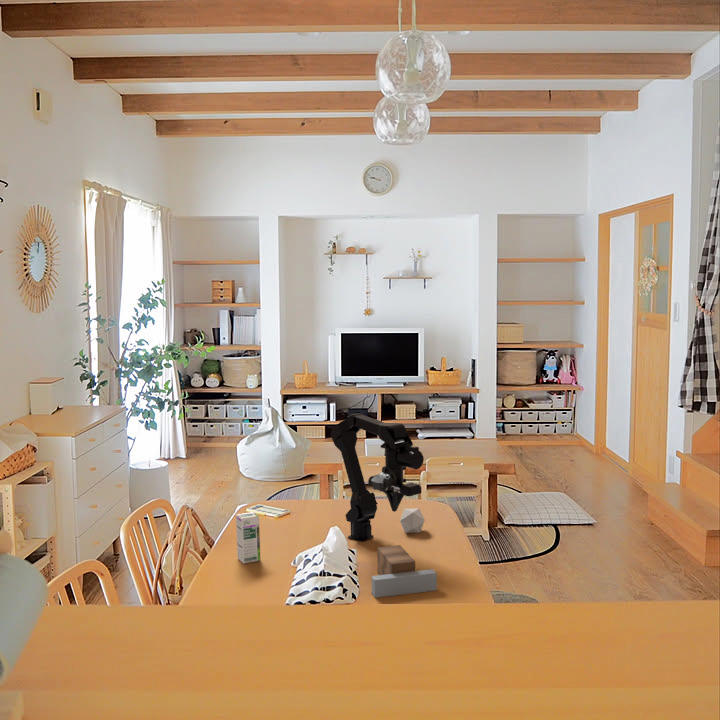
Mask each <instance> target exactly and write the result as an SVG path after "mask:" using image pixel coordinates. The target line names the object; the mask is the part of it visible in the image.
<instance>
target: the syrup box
mask: <svg viewBox="0 0 720 720" xmlns="http://www.w3.org/2000/svg"><path fill="white" fill-rule="evenodd" d="M235 526H236V529H235V530H236V542H237V543H236V546H237V548H236V550H237V551H236V552H237V554H236V555H237V559H238V560H239V561H240V562H241V564H248V563H254V562H260V561H261V540H260V539H261V538H260V536H261V535H260V533H261V532H260V516H259V515H258V514H257V512H255V511H250V512H245V513H237V514H235Z"/></svg>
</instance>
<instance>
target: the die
mask: <svg viewBox="0 0 720 720" xmlns="http://www.w3.org/2000/svg"><path fill="white" fill-rule="evenodd" d="M425 520H426V519H425V518H424V515H423V513H422V511H421V509H420V508H404V510H403V512H402V515H401V518H400V520H399V523H400V524H401V527H402V528H403V531H404V533H405V534H415V533H416V534H420V533H421V531H422V528H423V526H424V523H425Z"/></svg>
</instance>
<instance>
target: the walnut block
mask: <svg viewBox="0 0 720 720" xmlns="http://www.w3.org/2000/svg"><path fill="white" fill-rule="evenodd" d="M412 571H416V560H415V559H414V558H413V557H412V556H411V555H410V554H409V553H408V552H407V551H406V549H404V548H403V547H402V546H401V545H400V544H397V545H389V546H387V545H386V546H380V547H379V546H378V547H377V575H386V574H395V573H404V572H412Z"/></svg>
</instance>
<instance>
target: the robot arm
mask: <svg viewBox="0 0 720 720" xmlns="http://www.w3.org/2000/svg"><path fill="white" fill-rule="evenodd" d="M361 430H362V431H366V432H368V433H371V434H374V435H376V436H378V438H379V440H381V441H382V442H383V443H382V444H381V445H380V448H381V449H384V451H385V453H384V454H385V455H384V456H385V457H384V459H385V461H384V462H385V463H384V464H385V466H382V468H381V473H377V474H375V475H371V476H369V478H368V480H367V481H368V482H367V483H368V486H370V487H373V488H372V489H373V490H375V491H376V490H377V491H378V492H383V494H385V495H386V497H387V500H388V503H389V506H390V509H391V510H392V512H397V511H398V508H399V506H400V505H401V502H402V500H403V499H404V496H406V497H413V496H416V495H420V494H422V486H421V485H420V484H419V483H414V482H408V483H407V478H404V471H406V470H407V468H409V469H412V470H419V469H420V468H421V467H422V466H423V464H424V460H425V459H424V457H425V456H424V455H423V452H422V451H420V448H419V446H414V443H413V441H412V438H411V437H410V435H409V433H408V430H407V429H406V426H405V425H404V424H403V423H399V422H384V421H381V420H378V419H376V418H372V417H369V416H366V415H364V414H363V413H360V412H358V413H352V414H349V415H348V416H347V417H346V418H345V419H344V420H342V421H340V422H338V423H337V424H336V425H334V426H333V427H332V429H331V431H330V437H331V439H332V443H333V444H334V446H335V447H336V448H337V449H338V450H339V451H340V453H341V456H342V460H343V464H344V467H345V471H346V475H347V478H348V483H349V486H350V490H351V497H350V501H349V503H350V509H349V510H348V511H347V512H346V514H345V520H346V522H348V523H350V535H348V536H347V539H350V540H354V541H357V542H365V541H368V540H370V539H373V538H374V534H372V524H371V523H372V522H371V520H373V519H375V516H376V513H377V510H378V502H377V500H376V494H375V493H374V492H370V491H369V489H367V485H366V482H365V479H364V475H363V472H362V468H361V464H360V460H359V458H358V457H359V456H358V453H357V451H356V450H357V449H356V446H357V441H358V437H357V434H358V433H359V432H360V431H361ZM404 483H405V484H404Z"/></svg>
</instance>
